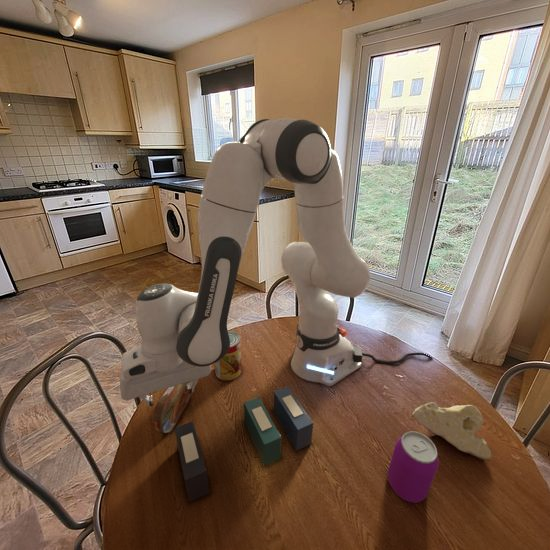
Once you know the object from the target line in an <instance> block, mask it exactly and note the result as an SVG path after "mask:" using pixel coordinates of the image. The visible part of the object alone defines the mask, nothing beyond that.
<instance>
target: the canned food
mask: <svg viewBox="0 0 550 550" xmlns="http://www.w3.org/2000/svg"><path fill="white" fill-rule="evenodd" d="M228 335H229V338H230V348H229V350H228V352H227V354H226V355H225V356H224V357H223V358H222V359H221V360H219V361H218V362H216V363H214V373H215V377H217V378H218V379H220V380H222V381H232V380H235V379H236V378H238V377H239V376H240V375H241V372H242V353H241V351H242V349H241V336H240V334H239V333H237V332H236V331H232V330H228Z"/></svg>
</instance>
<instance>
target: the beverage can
mask: <svg viewBox="0 0 550 550" xmlns="http://www.w3.org/2000/svg"><path fill="white" fill-rule="evenodd" d="M439 465H440V463H439V455H438V449H437V447H436V445H435V443H434V442H433V441H432V439H431V438H429V437H428V436H427V435H426V434H423V433H422V432H418V431H415V430H414V431H413V430H411V431H406V432H405V433H404V434H403V435H402V436H400V437H399V438H398V439H397V441H396V442H395V445H394V449H393V452H392V455H391V459H390V463H389V465H388V469H387V481H388V484H389V486H390V487H391V489H392V491H393V492H394V493H395V494H396V495H397V496H398V497H399V498H401V499H402V500H404V501H406V502H409V503H413V504H414V503H415V504H416V503H417V504H418V503H420V502H423V501H424V500H425V499H426V498H427V496H428V493H429V491H430V488H431V486H432V483H433V481H434V478H435V476H436V473H437V471H438V468H439Z"/></svg>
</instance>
